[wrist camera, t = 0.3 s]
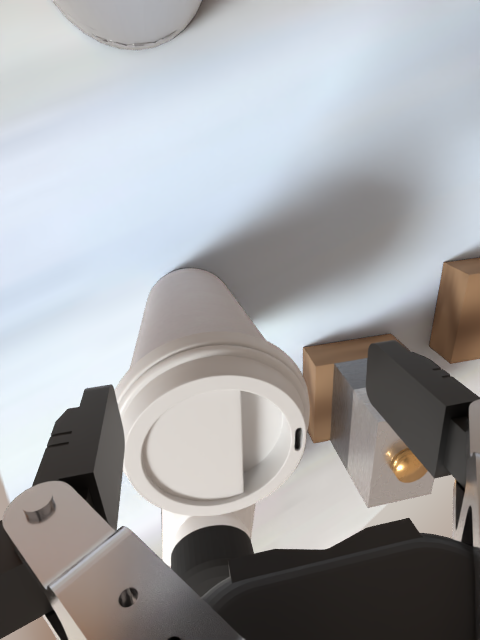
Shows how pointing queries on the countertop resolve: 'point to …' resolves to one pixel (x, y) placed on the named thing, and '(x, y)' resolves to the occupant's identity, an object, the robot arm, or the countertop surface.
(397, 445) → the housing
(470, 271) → the stand
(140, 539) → the robot arm
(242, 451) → the coffee cup
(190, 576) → the medicine bottle
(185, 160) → the countertop surface
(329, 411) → the stand
